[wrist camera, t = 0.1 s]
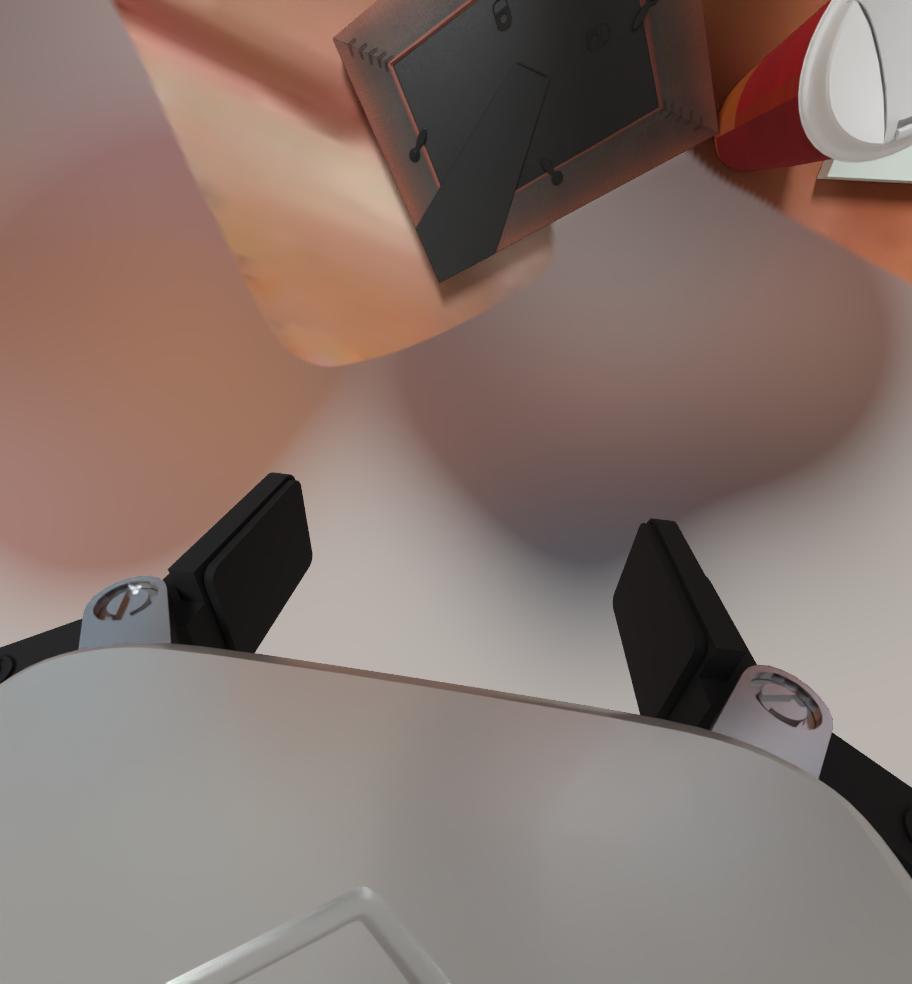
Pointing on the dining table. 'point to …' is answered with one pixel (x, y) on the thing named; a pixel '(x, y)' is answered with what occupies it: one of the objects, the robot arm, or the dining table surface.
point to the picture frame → (524, 107)
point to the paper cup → (826, 91)
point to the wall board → (871, 169)
